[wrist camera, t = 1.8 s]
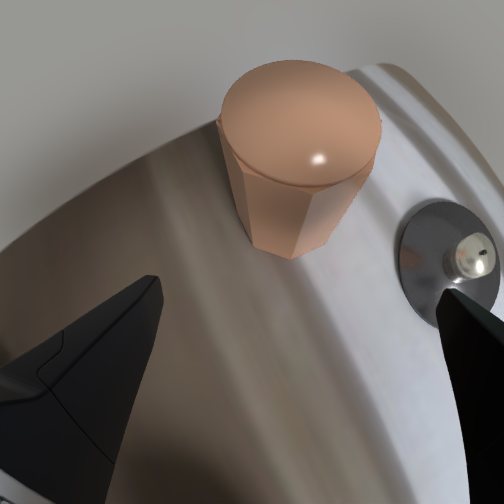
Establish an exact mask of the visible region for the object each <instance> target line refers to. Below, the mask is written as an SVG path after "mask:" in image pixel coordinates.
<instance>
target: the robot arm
mask: <svg viewBox="0 0 504 504" xmlns="http://www.w3.org/2000/svg"><path fill="white" fill-rule="evenodd" d="M163 303H164V298H163V292H162V287H161V282H160V278H159V277H158V276H152V275H145V276H144V277H142V278H140V279H139V280H137V281H136V282H134V283H133V284H131V285H129V286H128V287H126V288H125V289H123V290H122V291H120V292H119V293H117V294H115V295H114V296H112V297H111V298H109V299H108V300H106V301H105V302H103V303H102V304H100V305H98V306H97V307H95V308H94V309H92V310H91V311H89V312H88V313H86V314H85V315H83V316H82V317H80V318H79V319H77V320H76V321H74V322H73V323H71V324H70V325H68V326H67V327H65V328H64V330H61V331H59V332H58V333H56V334H55V335H53V336H52V337H50V338H49V339H47V340H46V341H44V342H43V343H41V344H39V345H38V346H36V347H34V348H33V349H31V350H29V351H28V352H26V353H24V354H22V355H21V356H19V357H17V358H15V359H14V360H12V361H10V362H8V363H7V364H5V365H3V366H2V367H0V504H105V500H106V496H107V492H108V489H109V485H110V481H111V478H112V474H113V470H114V467H115V466H114V465H115V463H116V459H117V456H118V453H119V449H120V446H121V442H122V439H123V436H124V433H125V429H126V426H127V423H128V420H129V417H130V414H131V410H132V407H133V404H134V401H135V398H136V395H137V392H138V389H139V386H140V383H141V380H142V377H143V374H144V372H145V369H146V366H147V363H148V360H149V357H150V354H151V352H152V348H153V345H154V341H155V337H156V333H157V329H158V324H159V320H160V316H161V312H162V308H163ZM435 313H436V319H437V324H438V328H439V333H440V338H441V344H442V349H443V353H444V357H445V361H446V365H447V368H448V372H449V376H450V380H451V384H452V388H453V392H454V397H455V401H456V406H457V410H458V415H459V420H460V426H461V431H462V437H463V443H464V449H465V456H466V463H467V473H468V483H469V495H470V504H504V322H503V321H502V320H500V319H499V318H498V317H496V316H495V315H494V314H492V313H491V312H489V311H488V310H487V309H485V308H484V307H482V306H481V305H479V304H478V303H477V302H475V301H474V300H472V299H471V298H469V297H468V296H466V295H465V294H464V293H462V292H461V291H459V290H458V289H456V288H446V289H444V291H443V292H442V295H441V297H440V300H439V302H438V304H437V307H436V312H435Z"/></svg>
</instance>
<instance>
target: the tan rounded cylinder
mask: <svg viewBox="0 0 504 504" xmlns="http://www.w3.org/2000/svg"><path fill="white" fill-rule="evenodd" d="M381 123H382V120H381V119H380V115H379V112H378V109H377V107H376V105H375V103H374V101H373V100H372V98H371V97H370V95H369V94H368V93H367V92H366V91H365V89H364V88H363V87H362V86H361V85H359V84H358V83H357V82H356V81H355V80H353V79H352V78H351V77H349V76H348V75H346V74H344V73H342V72H340V71H338V70H336V69H334V68H332V67H329V66H326V65H323V64H320V63H315V62H310V61H302V60H284V61H277V62H272V63H268V64H265V65H262V66H259V67H257V68H255V69H253V70H251V71H249V72H247V73H246V74H244V75H243V76H242V77H241V78H239V79H238V80H237V81H236V82H235V83H234V84H233V85H232V87H231V88H230V89H229V91H228V93H227V94H226V97H225V98H224V102H223V105H222V112H221V114H220V115H219V117H218V119H217V121H216V124H217V128H218V132H219V136H220V141H221V145H222V149H223V154H224V158H225V162H226V166H227V171H228V175H229V179H230V183H231V188H232V192H233V196H234V200H235V205H236V209H237V213H238V216H239V218H240V220H241V222H242V224H243V226H244V228H245V230H246V232H247V234H248V236H249V239H250V241H251V243H252V245H253V247H255V248H258V249H261V250H263V251H266V252H269V253H272V254H275V255H278V256H281V257H284V258H286V259H289V260H292V259H294V258H296V257H298V256H300V255H302V254H305V253H307V252H309V251H311V250H313V249H315V248H317V247H319V246H322V245H324V244H325V243H326V242H327V240H328V239H329V237H330V236H331V234H332V233H333V231H334V229H335V228H336V226H337V225H338V223H339V222H340V220H341V219H342V217H343V216H344V214H345V212H346V211H347V209H348V208H349V206H350V205H351V203H352V202H353V200H354V198H355V197H356V195H357V194H358V192H359V190H360V189H361V187H362V186H363V184H364V182H365V181H366V179H367V177H368V176H369V174H370V173H371V171H372V169H373V164H374V159H375V154H376V150H377V148H378V146H379V143H380V139H381V132H382V126H381Z"/></svg>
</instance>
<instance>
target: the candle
mask: <svg viewBox="0 0 504 504" xmlns="http://www.w3.org/2000/svg"><path fill="white" fill-rule="evenodd" d="M398 267H399V275H400V280H401V283H402V287H403V290H404V292H405V295H406V297H407V299H408V301H409V303H410V304H411V306H412V307H413V309H414V310H415V312H416V313H417V314H418V315H419V316H420V317H421V318H422V319H423V320H424V321H425V322H427V323H428V324H430V325H431V326H433V327H435V328H438V324H437V319H436V313H435V312H436V307H437V304H438V302H439V300H440V297H441V295H442V292H443V291H444V289H446V288H456V289H458V290H459V291H461V292H462V293H464V294H465V295H466V296H468V297H469V298H471V299H472V300H474V301H475V302H477V303H478V304H479V305H481V306H482V307H484V308H485V309H487V310H488V311H489V312H490V310H491V309H492V307H493V305H494V303H495V300H496V298H497V294H498V291H499V285H500V261H499V256H498V252H497V249H496V245H495V243H494V240H493V238H492V236H491V234H490V232H489V231H488V229H487V228H486V226H485V225H484V224H483V222H482V221H481V220H480V219H479V218H478V217H477V216H476V215H475V214H474V213H472V212H471V211H470V210H468V209H467V208H465V207H463V206H461V205H458V204H455V203H452V202H437V203H432V204H430V205H428V206H426V207H424V208H423V209H421V210H420V211H419V212H418V213H417V214H415V215H414V216H413V217H412V219H411V220H410V221H409V222H408V224H407V226H406V228H405V230H404V232H403V234H402V237H401V241H400V245H399V252H398ZM438 329H439V328H438Z"/></svg>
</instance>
